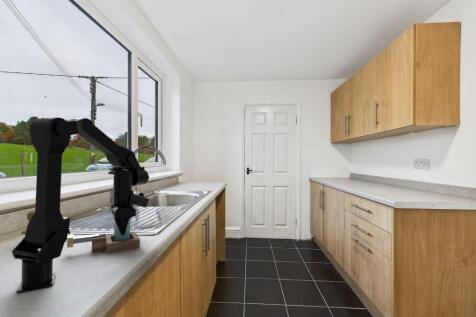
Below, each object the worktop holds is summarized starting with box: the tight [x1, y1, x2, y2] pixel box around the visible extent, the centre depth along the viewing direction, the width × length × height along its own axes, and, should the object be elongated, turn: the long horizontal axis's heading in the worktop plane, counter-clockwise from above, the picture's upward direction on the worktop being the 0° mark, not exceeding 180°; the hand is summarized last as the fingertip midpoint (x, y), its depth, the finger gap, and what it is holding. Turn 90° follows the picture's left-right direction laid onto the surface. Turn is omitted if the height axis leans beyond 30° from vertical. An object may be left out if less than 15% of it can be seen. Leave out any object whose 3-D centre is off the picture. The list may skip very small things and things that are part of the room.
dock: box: [91, 231, 141, 255], centre depth 84 cm, size 10×14×4 cm
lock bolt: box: [66, 233, 100, 248], centre depth 79 cm, size 3×8×3 cm, turn 120°
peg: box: [113, 218, 131, 242], centre depth 85 cm, size 5×5×9 cm
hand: (122, 233), depth 85 cm, fingers closed on peg, 5 cm apart
